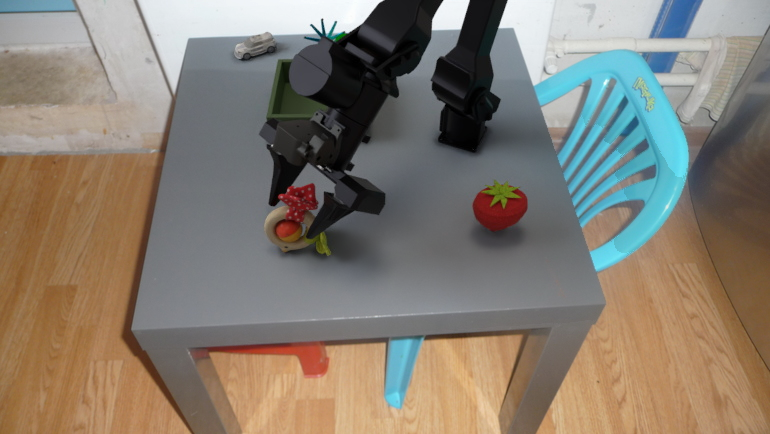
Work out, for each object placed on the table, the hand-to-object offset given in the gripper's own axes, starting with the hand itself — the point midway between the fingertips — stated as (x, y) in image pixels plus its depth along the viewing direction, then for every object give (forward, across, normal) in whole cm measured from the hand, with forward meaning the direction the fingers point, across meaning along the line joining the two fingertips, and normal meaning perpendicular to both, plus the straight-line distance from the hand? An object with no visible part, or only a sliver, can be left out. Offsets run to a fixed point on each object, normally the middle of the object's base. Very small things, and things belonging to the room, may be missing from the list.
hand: (289, 221), depth 75 cm
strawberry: (-11, +16, +21) cm, 29 cm away
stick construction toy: (-20, -32, +30) cm, 48 cm away
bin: (-11, -21, +20) cm, 31 cm away
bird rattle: (+4, 0, +6) cm, 7 cm away
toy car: (-12, -43, +22) cm, 50 cm away
